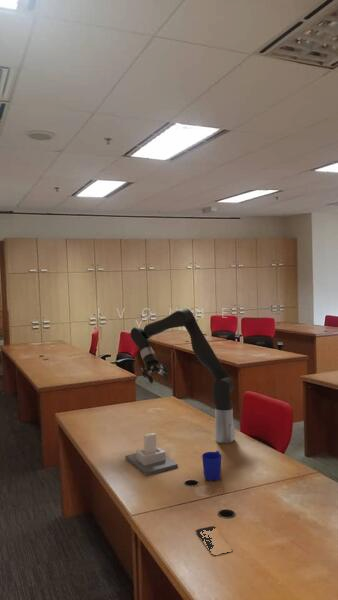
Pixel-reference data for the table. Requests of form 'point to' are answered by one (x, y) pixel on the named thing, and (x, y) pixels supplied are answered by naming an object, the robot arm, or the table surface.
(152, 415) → the table surface
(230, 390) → the robot arm
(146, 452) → the rectangular block
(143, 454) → the block insertion holder
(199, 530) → the phone
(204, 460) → the mug
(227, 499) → the table surface
